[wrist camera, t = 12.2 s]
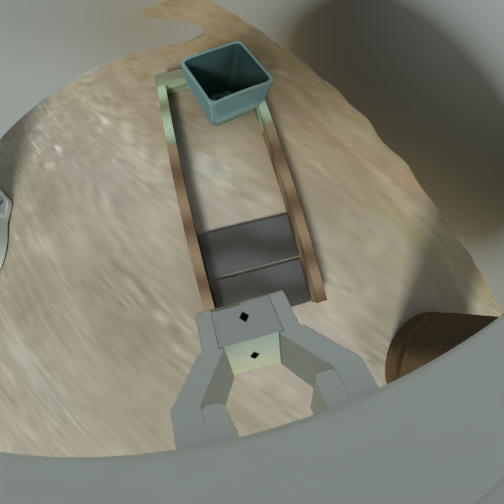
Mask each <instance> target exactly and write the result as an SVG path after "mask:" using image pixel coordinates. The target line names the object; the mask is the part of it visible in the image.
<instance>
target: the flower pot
mask: <svg viewBox="0 0 504 504" xmlns="http://www.w3.org/2000/svg"><path fill="white" fill-rule="evenodd" d="M180 63H181V66H182V70H183V73H184V77H185V80H186V83H187V86H188V88H189V90H190V91H191V93H192V94H193V96H194V97H195V99H196V100H197V102H198V103H199V105H200V106H201V108H202V109H203V111H204V112H205V114H206V115H207V117H208V119H209V120H210V122H211V123H212V124H213V125H216V126H217V125H220V124H223V123H225V122H227V121H230V120H232V119H234V118H237V117H239V116H241V115H244V114H246V113H248V112H250V111H252V110H253V109H255V108H256V107H258V106H259V105H260V104H261V103H262V101H263V100H264V98H265V96H266V95H267V93H268V91H269V89H270V87H271V85H272V83H273V81H274V79H273V77H272V76H271V75H270V74H269V73H268V72H267V70H266V69H265V68H264V67H263V66H262V65H261V64H260V62H259V61H258V60H257V59H256V58H255V57H254V56H253V55H252V53H251V52H250V51H249V50H248V49H247V48H246V47H245V45H244V44H243V43H242V42H240V41H235V42H231V43H228V44H225V45H222V46H219V47H216V48H213V49H210V50H207V51H204V52H201V53H198V54H196V55H193V56H190V57H187V58H185V59H183V60H181V62H180ZM217 99H218V100H217Z"/></svg>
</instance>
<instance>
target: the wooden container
mask: <svg viewBox="0 0 504 504" xmlns="http://www.w3.org/2000/svg"><path fill="white" fill-rule="evenodd" d="M497 318H498V317H494V316H481V315H471V314H459V313H438V312H426V313H422V314H419V315H417V316H415V317H413V318H412V319H410V320H409V321H408V322H407V323H406V324H405V325H404V326H403V327H402V328H401V329H400V331H399V332H398V333H397V335H396V336H395V338H394V340H393V342H392V344H391V346H390V349H389V352H388V356H387V361H386V381H387V384H389V383H391V382H393V381H395V380H397V379H399V378H401V377H403V376H405V375H407V374H409V373H410V372H412V371H414V370H416V369H418V368H420V367H422V366H423V365H425V364H427V363H429V362H431V361H432V360H434V359H436V358H438V357H439V356H441V355H443V354H444V353H446V352H448V351H449V350H451V349H453V348H454V347H456V346H457V345H459V344H461V343H462V342H464V341H465V340H467V339H468V338H470V337H471V336H473V335H474V334H476V333H477V332H479V331H480V330H482V329H483V328H484V327H486V326H487V325H489V324H490V323H491V322H493V321H494V320H496V319H497Z"/></svg>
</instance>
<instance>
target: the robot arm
mask: <svg viewBox="0 0 504 504" xmlns="http://www.w3.org/2000/svg"><path fill="white" fill-rule="evenodd" d="M2 202H3V203H2ZM11 208H12V202H11V200H10V199H9V198H8V197H7V196H6V195H5V194H4V193H3V191H2V190H1V189H0V269H1V267H2V264H3V261H4V258H5V254H6V248H7V239H8V220H9V216H10V213H11ZM196 323H197V328H198V334H199V339H200V344H201V349H202V353H200V354H198V355H197V357H196V359H195V361H194V363H193V365H192V368H191V370H190V372H189V374H188V376H187V378H186V380H185V382H184V384H183V386H182V389H181V391H180V393H179V395H178V397H177V399H176V401H175V403H174V405H173V407H172V409H171V418H172V425H173V432H174V438H175V444H176V450H171V451H164V452H156V453H147V454H137V455H125V456H109V457H48V456H33V455H22V454H13V453H5V452H0V504H504V314H502V315H501V316H500V317H498V318H497V319H496V320H494V321H493V322H491V323H490V324H489V325H487V326H486V327H484V328H483V329H482V330H480V331H479V332H477V333H476V334H474V335H473V336H471V337H470V338H468V339H467V340H465V341H464V342H462V343H461V344H459V345H457V346H456V347H454V348H453V349H451V350H449V351H448V352H446V353H444V354H443V355H441V356H439V357H438V358H436V359H434V360H432V361H431V362H429V363H427V364H425V365H423V366H422V367H420V368H418V369H416V370H414V371H412V372H410V373H409V374H407V375H405V376H403V377H401V378H399V379H397V380H395V381H393V382H391V383H389V384H387V385H385V386H382V387H380V388H379V387H378V386H377V384H376V382H375V380H374V378H373V377H372V375H371V373H370V371H369V369H368V368H367V366H366V364H365V362H364V361H363V359H362V357H361V356H359V355H358V354H356V353H354V352H352V351H350V350H349V349H347V348H345V347H343V346H341V345H340V344H338V343H336V342H334V341H332V340H331V339H329V338H327V337H325V336H323V335H322V334H320V333H318V332H316V331H315V330H313V329H311V328H309V327H308V326H306V325H301V326H300V324H299V322H298V320H297V318H296V316H295V314H294V312H293V310H292V308H291V306H290V304H289V302H288V300H287V298H286V296H285V294H284V292H283V291H282V290H281V291H278V292H274V293H270V294H268V295H267V294H266V295H263V296H259V297H256V298H252V299H249V300H245V301H242V302H239V303H236V304H231V305H227V306H223V307H219V308H214V309H211V310H206V311H202V312H198V313H196ZM277 363H282V364H283V365H284V366H285V367H287V368H288V369H289V370H291V371H292V372H293V373H295V374H296V375H297V376H299V377H300V378H301V379H303V380H304V381H305V382H307V383H308V384H309V385H311V386H312V387H313V388H314V390H313V396H312V402H311V410H312V412H313V415H312V416H309V417H306V418H303V419H300V420H297V421H294V422H291V423H288V424H285V425H282V426H278V427H275V428H272V429H268V430H265V431H261V432H257V433H254V434H250V435H246V436H242V437H239V434H238V431H237V428H236V427H235V425H234V423H233V421H232V419H231V417H230V415H229V413H228V411H227V410H226V408H225V405H226V402H227V398H228V395H229V392H230V389H231V386H232V383H233V380H234V376H235V375H238V374H242V373H245V372H249V371H252V370H255V369H259V368H262V367H266V366H270V365H274V364H277Z"/></svg>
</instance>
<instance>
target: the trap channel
mask: <svg viewBox="0 0 504 504" xmlns="http://www.w3.org/2000/svg"><path fill="white" fill-rule="evenodd" d="M155 79H156V84H157V88H158V95H159V101H160V107H161V114H162V120H163V125H164V131H165V137H166V142H167V148H168V153H169V158H170V164H171V169H172V174H173V179H174V184H175V189H176V194H177V198H178V203H179V208H180V212H181V217H182V221H183V226H184V230H185V234H186V239H187V243H188V247H189V251H190V256H191V260H192V264H193V268H194V272H195V276H196V280H197V284H198V288H199V291H200V295H201V299H202V303H203V306H204V310H205V311H206V310H211V309H214V308H215V305H214V302H213V298H212V294H211V290H210V286H209V283H208V279H207V275H206V271H205V267H204V263H203V259H202V255H201V251H200V247H199V243H198V239H197V234H196V230H195V226H194V222H193V217H192V213H191V209H190V204H189V200H188V195H187V191H186V186H185V182H184V177H183V172H182V167H181V163H180V158H179V153H178V148H177V143H176V138H175V133H174V127H173V122H172V117H171V111H170V106H169V100H168V95H167V94H172V93H176V92H180V91H185V90H189V88H188V86H187V83H186V80H185V77H184V73H183V70H182V69H179V70H174V71H170V72H165V73H161V74H157V75H155ZM254 110H255V113H256V116H257V119H258V121H259V124H260V127H261V131H262V134H263V137H264V140H265V143H266V146H267V149H268V152H269V155H270V158H271V161H272V165H273V168H274V171H275V174H276V177H277V181H278V184H279V187H280V190H281V194H282V197H283V200H284V204H285V207H286V210H287V214H288V217H289V220H288V217H287V214H286V215H281V216H277V217H273V218H269V219H264V220H260V221H256V222H252V223H248V224H243V225H239V226H235V227H231V228H227V229H223V230H219V231H215V232H211V233H207V234H203V235H199V240H200V244H201V248H202V253H203V257H204V261H205V265H206V268H207V272H208V276H209V279H210V278H214V277H218V276H222V275H226V274H230V273H234V272H237V271H241V270H245V269H249V268H253V267H257V266H260V265H264V264H268V263H272V262H276V261H279V260H283V259H287V258H291V257H294V256H298V252H299V256H300V259H301V262H300V259H298V260H294V261H291V262H287V263H283V264H279V265H276V266H272V267H268V268H264V269H261V270H257V271H253V272H249V273H245V274H242V275H238V276H234V277H230V278H226V279H222V280H218V281H215V282H211V283H210V284H211V288H212V292H213V295H214V299H215V303H216V307H217V308H219V307H223V306H227V305H231V304H236V303H239V302H242V301H245V300H249V299H252V298H256V297H259V296H263V295H266V294H267V295H268V294H270V293H274V292H278V291H281V290H282V291H283V292H284V294H285V296H286V298H287V300H288V302H289V304H290V306H291V307H292V306H295V305H298V304H302V303H305V302H308V301H311V300H312V302H316V303H319V302H322V301H325V300H327V298H326V294H325V290H324V286H323V282H322V278H321V275H320V271H319V267H318V264H317V260H316V257H315V253H314V249H313V246H312V242H311V239H310V235H309V232H308V229H307V225H306V222H305V218H304V215H303V212H302V208H301V205H300V202H299V199H298V196H297V192H296V189H295V186H294V183H293V180H292V177H291V173H290V170H289V167H288V164H287V161H286V158H285V155H284V152H283V149H282V146H281V143H280V141H279V138H278V135H277V132H276V129H275V126H274V123H273V120H272V118H271V115H270V112H269V109H268V107H267V104H266V101H265V98H264V100H263V101H262V103H261V104H260V105H259V106H258V107H256V108H255V109H254ZM289 221H290V224H291V227H292V230H291V227H290V224H289ZM292 231H293V234H294V237H293V234H292ZM294 238H295V241H296V244H295V241H294ZM296 245H297V248H298V252H297V248H296ZM301 263H302V266H303V270H304V273H303V270H302V266H301ZM304 274H305V277H306V281H307V284H306V281H305V277H304ZM307 285H308V288H307ZM308 289H309V292H308ZM309 293H310V296H311V300H310V296H309Z"/></svg>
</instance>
